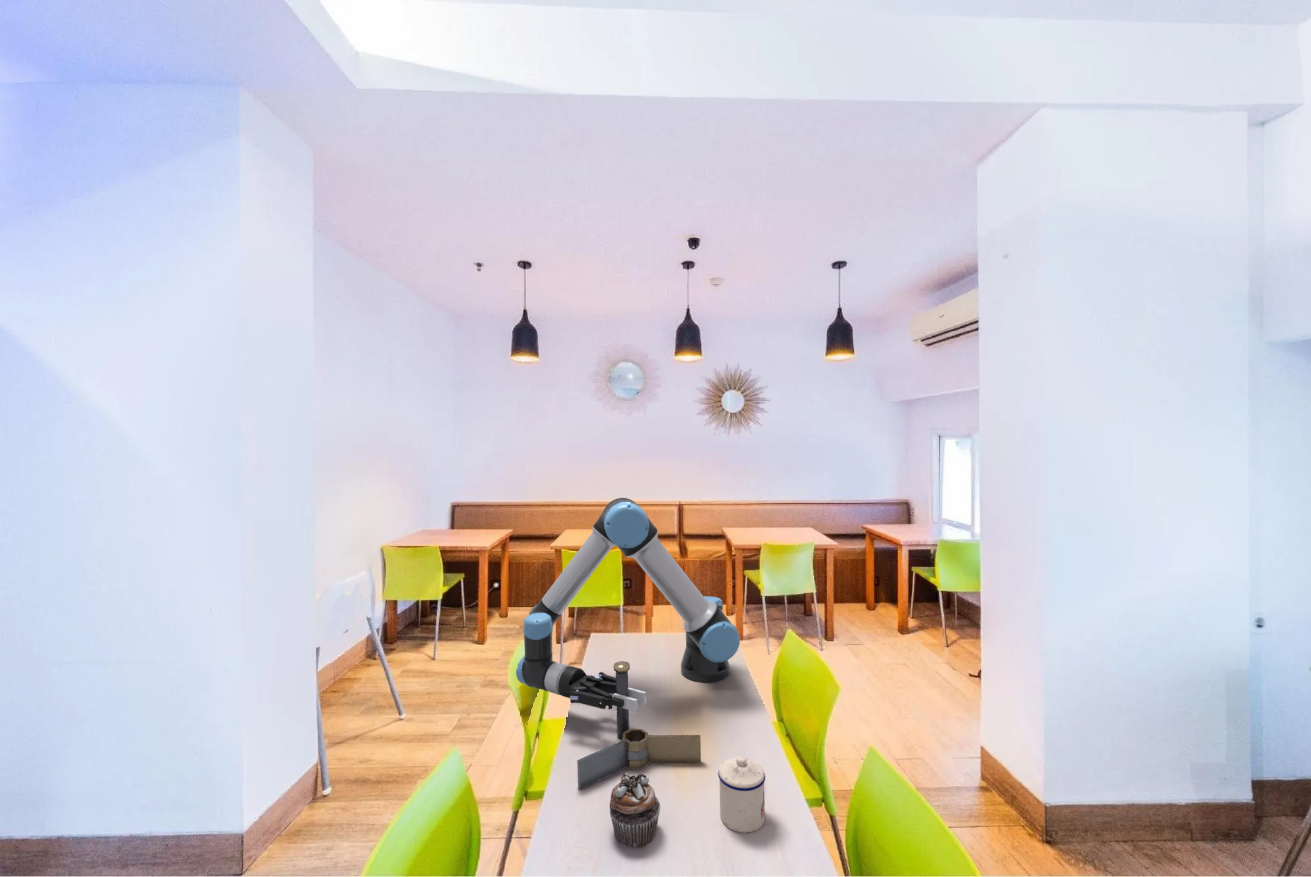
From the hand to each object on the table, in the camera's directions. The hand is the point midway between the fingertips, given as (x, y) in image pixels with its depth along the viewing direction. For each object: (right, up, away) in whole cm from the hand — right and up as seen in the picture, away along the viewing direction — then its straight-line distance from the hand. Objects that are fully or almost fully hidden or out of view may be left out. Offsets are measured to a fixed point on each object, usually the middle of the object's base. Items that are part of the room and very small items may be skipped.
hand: (640, 701), depth 130 cm
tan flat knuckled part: (+5, -10, -8) cm, 13 cm away
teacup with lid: (+20, -10, -24) cm, 33 cm away
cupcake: (0, -11, -29) cm, 31 cm away
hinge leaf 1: (-6, -10, -11) cm, 16 cm away
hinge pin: (-4, -10, +3) cm, 11 cm away
